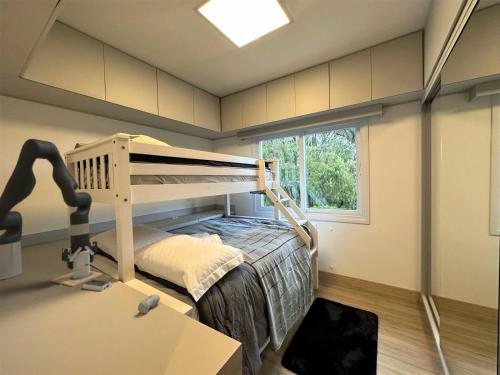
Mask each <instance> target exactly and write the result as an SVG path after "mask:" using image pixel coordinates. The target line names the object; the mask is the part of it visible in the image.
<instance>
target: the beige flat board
mask: <svg viewBox="0 0 500 375" xmlns="http://www.w3.org/2000/svg"><path fill="white" fill-rule="evenodd" d="M103 274H104V273H102V272H99V271H98V272H96V271H93V270H90V273H89V275H88V276H84V277H79V278H73V272H70V273H67V274H64V275H60V276H59V277H56V278H52V279H51V280H50V282H53V283H56V284H59V285H65V286H69V287H76V286H78V285H80V284H84V283H86V282H89V281H91V280H94V279H95V278H97V277H100V276H103Z"/></svg>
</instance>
